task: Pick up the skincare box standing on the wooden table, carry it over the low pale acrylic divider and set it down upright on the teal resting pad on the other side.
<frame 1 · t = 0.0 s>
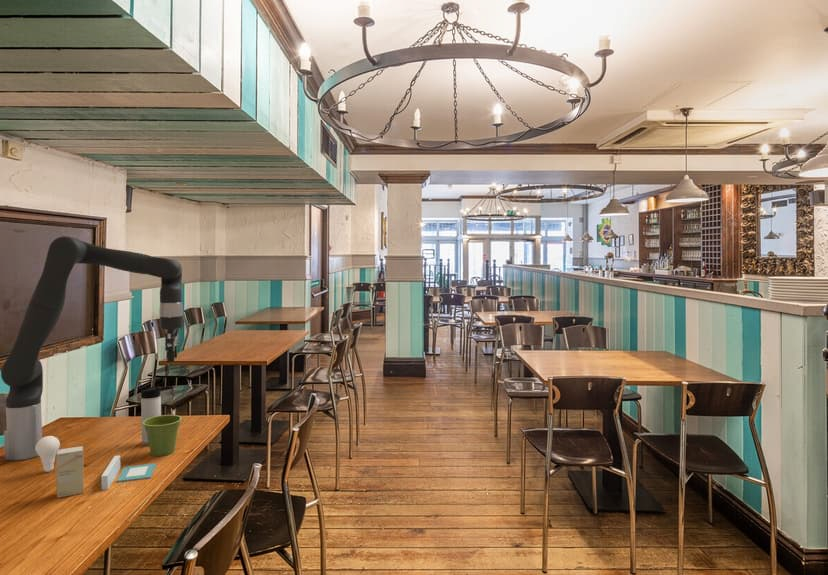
hand: (172, 359, 182), 29 cm above the table, tool pointing down, fingers open, 8 cm apart
resting pad: (137, 472, 155), on the table
divider wall: (111, 478, 151), on the table
skincare box: (70, 493, 141), on the table
travel mug: (152, 443, 181), on the table
plant pot: (163, 453, 171), on the table
lightbulb: (48, 472, 156), on the table
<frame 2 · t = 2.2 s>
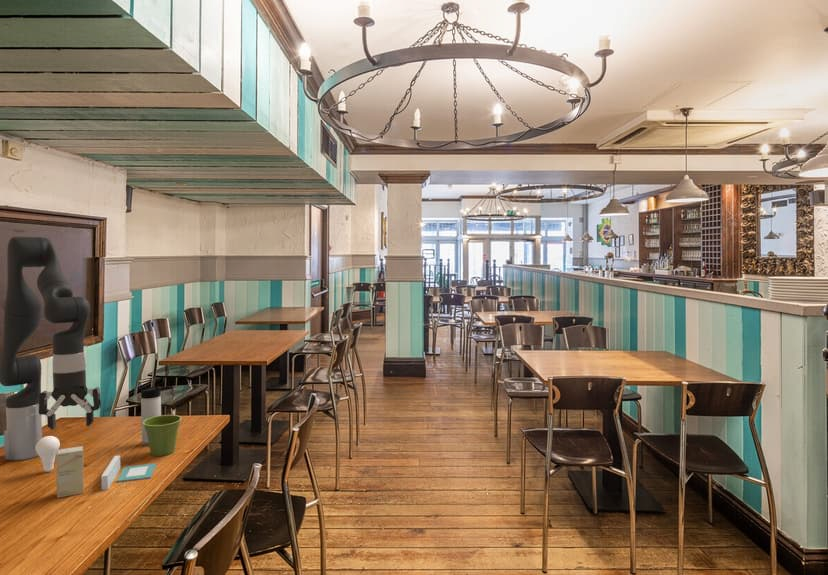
hand: (71, 426, 141), 18 cm above the table, tool pointing down, fingers open, 8 cm apart
nothing on the table moved.
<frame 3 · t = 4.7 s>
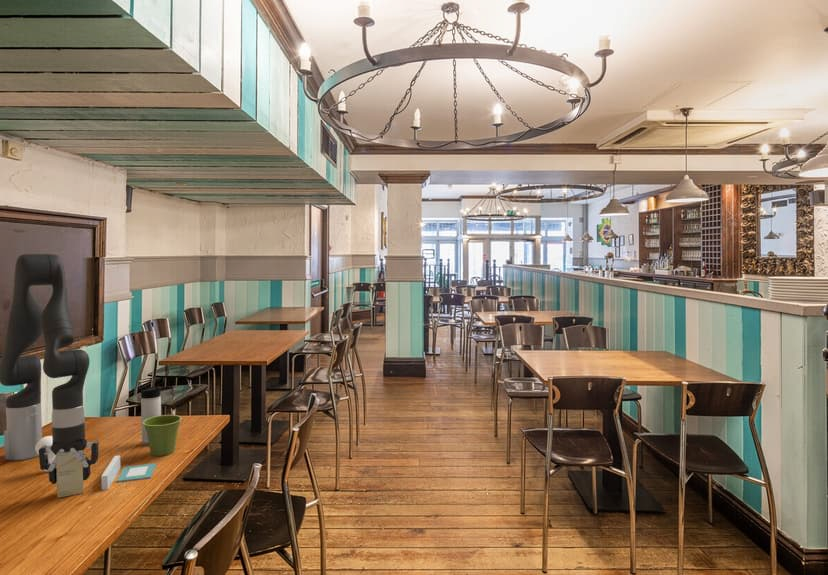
hand: (70, 481, 141), 3 cm above the table, tool pointing down, fingers closed on skincare box, 7 cm apart
skincare box: (70, 493, 141), on the table, touching gripper
everything else where it was.
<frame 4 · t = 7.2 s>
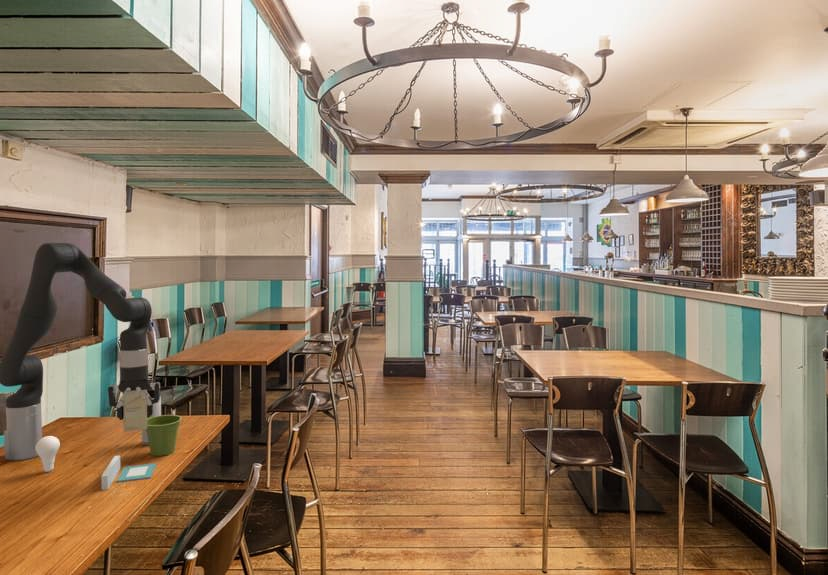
hand: (135, 417, 154), 17 cm above the table, tool pointing down, fingers closed on skincare box, 7 cm apart
skincare box: (135, 429, 154), point 13 cm above the table, touching gripper
everything else where it was.
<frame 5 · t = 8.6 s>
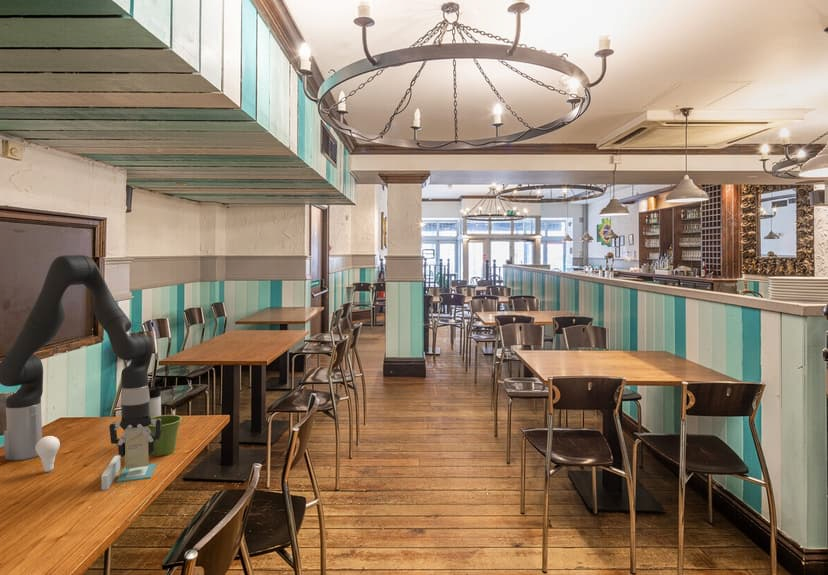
hand: (136, 454, 154), 6 cm above the table, tool pointing down, fingers closed on skincare box, 7 cm apart
skincare box: (137, 466, 154), point 2 cm above the table, touching gripper
everything else where it was.
when the fingers open (5 cm above the table, at t = 9.8 s): skincare box stays where it is, resting on resting pad.
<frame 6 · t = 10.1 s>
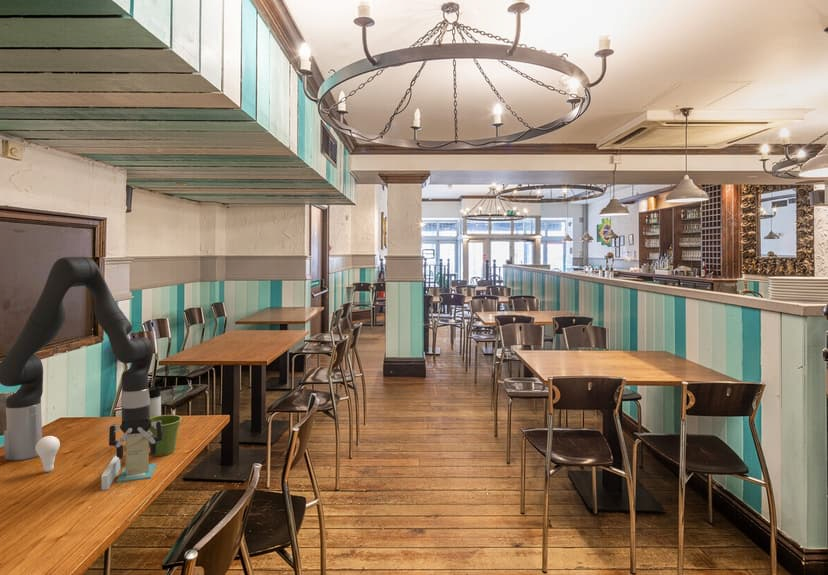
hand: (137, 456, 154), 5 cm above the table, tool pointing down, fingers open, 8 cm apart
skincare box: (137, 471, 155), resting on resting pad
everything else where it was.
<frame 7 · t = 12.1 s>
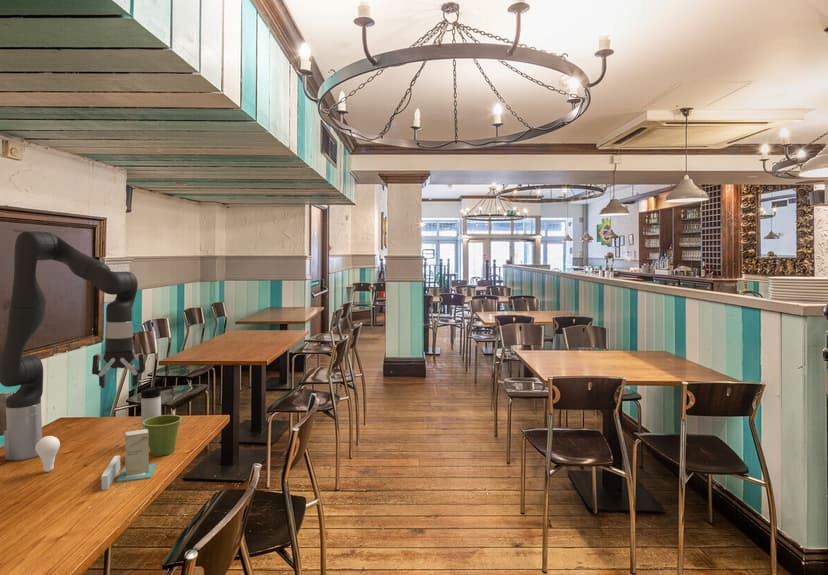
hand: (119, 386, 159), 25 cm above the table, tool pointing down, fingers open, 8 cm apart
nothing on the table moved.
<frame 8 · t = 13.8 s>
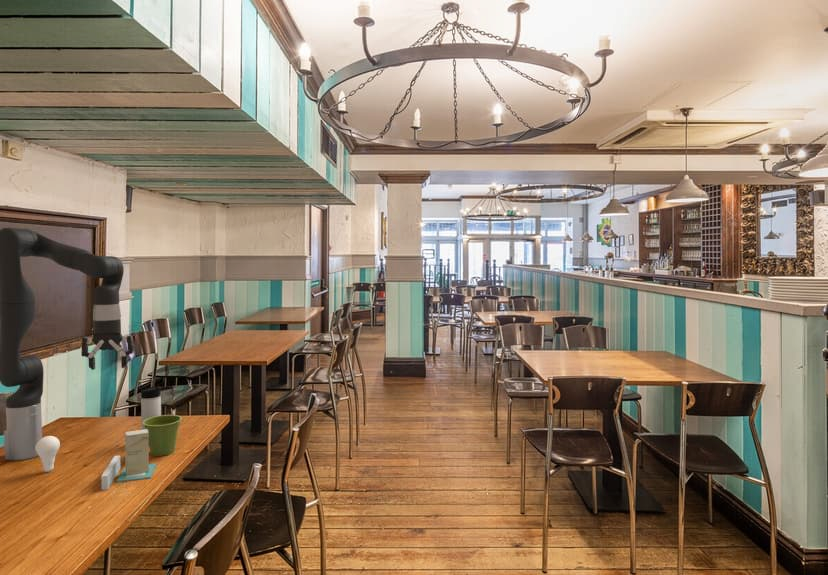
hand: (108, 368, 163), 30 cm above the table, tool pointing down, fingers open, 8 cm apart
nothing on the table moved.
at the end: skincare box inside the target area on the resting pad (0.0 cm from its centre), point 0.3 cm above the resting pad's base; skincare box tilted 0°; the gripper is holding nothing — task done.
